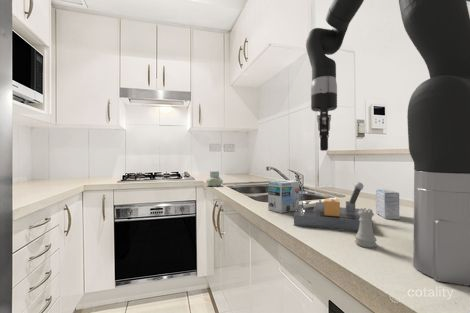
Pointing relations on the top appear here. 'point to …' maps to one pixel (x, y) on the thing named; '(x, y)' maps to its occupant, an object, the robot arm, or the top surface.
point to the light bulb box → (283, 195)
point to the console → (328, 217)
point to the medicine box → (387, 204)
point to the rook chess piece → (365, 229)
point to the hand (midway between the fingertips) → (324, 150)
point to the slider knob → (331, 207)
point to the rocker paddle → (314, 203)
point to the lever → (356, 192)
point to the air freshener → (214, 179)
